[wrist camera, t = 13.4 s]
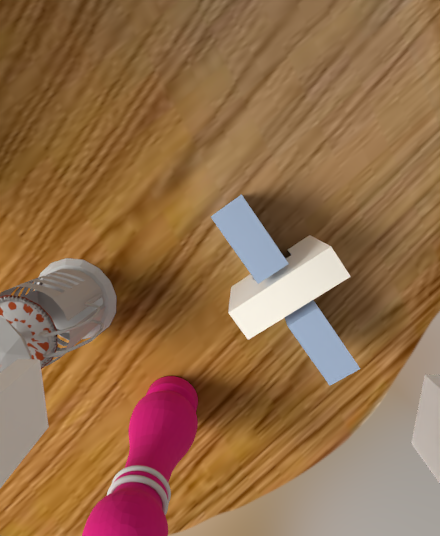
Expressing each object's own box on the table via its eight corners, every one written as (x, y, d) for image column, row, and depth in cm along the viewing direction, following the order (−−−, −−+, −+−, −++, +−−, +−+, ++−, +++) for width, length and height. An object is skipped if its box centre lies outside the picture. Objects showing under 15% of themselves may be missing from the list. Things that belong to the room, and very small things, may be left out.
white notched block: (246, 308, 35) (248, 339, 27) (231, 286, 34) (228, 312, 27) (324, 258, 33) (350, 276, 25) (309, 234, 33) (331, 246, 25)
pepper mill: (190, 364, 37) (132, 552, 17) (210, 416, 38) (177, 643, 19) (134, 380, 38) (21, 574, 18) (156, 429, 39) (72, 659, 20)
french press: (25, 261, 35) (-451, 400, 11) (124, 252, 34) (-161, 382, 10) (44, 341, 37) (-322, 607, 13) (138, 335, 36) (-70, 610, 12)
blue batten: (218, 212, 33) (210, 216, 25) (241, 195, 32) (241, 194, 24) (310, 344, 35) (329, 385, 27) (333, 330, 35) (360, 368, 27)
